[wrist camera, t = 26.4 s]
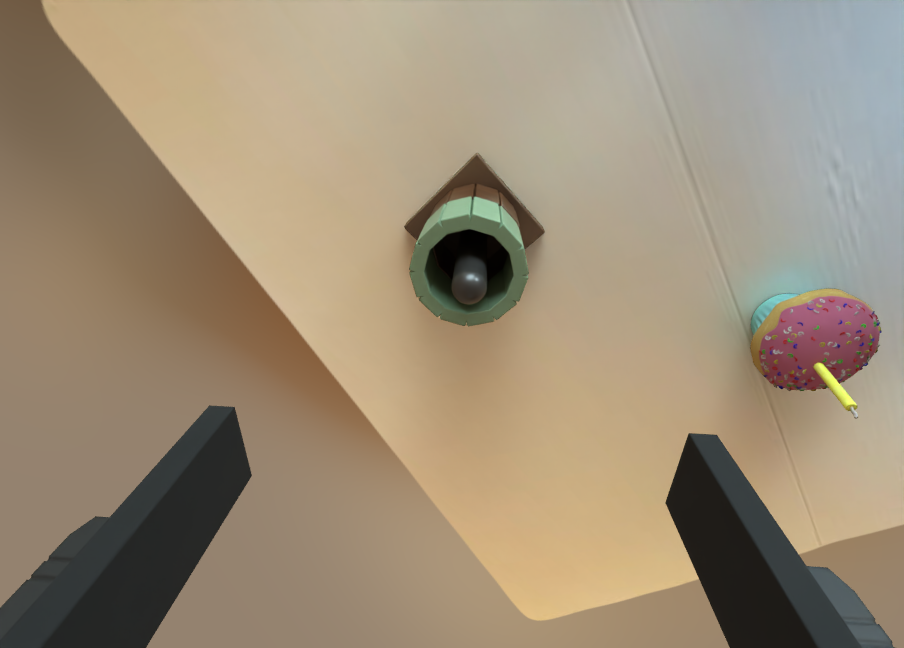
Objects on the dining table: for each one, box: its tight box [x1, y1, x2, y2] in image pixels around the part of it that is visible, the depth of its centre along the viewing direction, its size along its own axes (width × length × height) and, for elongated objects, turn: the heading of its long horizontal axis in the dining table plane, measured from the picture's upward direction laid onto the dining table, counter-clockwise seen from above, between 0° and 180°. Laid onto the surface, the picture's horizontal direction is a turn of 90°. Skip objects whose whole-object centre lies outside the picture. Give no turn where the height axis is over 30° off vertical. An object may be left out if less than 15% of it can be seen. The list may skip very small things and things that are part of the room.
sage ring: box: [409, 197, 529, 326], centre depth 29 cm, size 7×7×5 cm
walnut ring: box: [430, 184, 523, 281], centre depth 33 cm, size 7×7×5 cm
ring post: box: [404, 153, 545, 304], centre depth 31 cm, size 8×8×14 cm
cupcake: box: [750, 289, 881, 418], centre depth 34 cm, size 9×8×12 cm
